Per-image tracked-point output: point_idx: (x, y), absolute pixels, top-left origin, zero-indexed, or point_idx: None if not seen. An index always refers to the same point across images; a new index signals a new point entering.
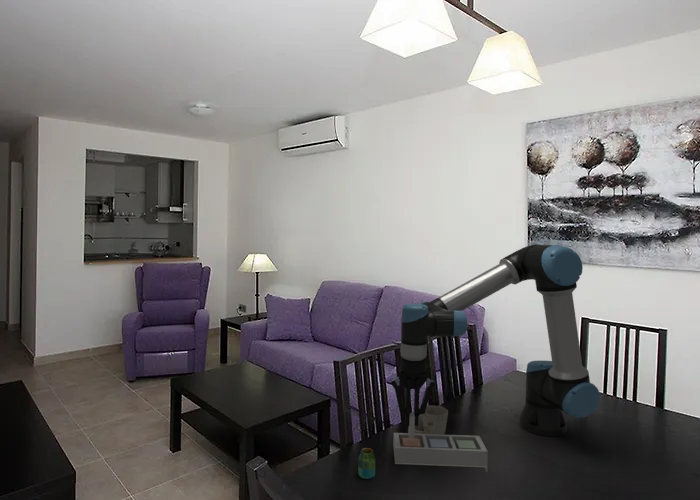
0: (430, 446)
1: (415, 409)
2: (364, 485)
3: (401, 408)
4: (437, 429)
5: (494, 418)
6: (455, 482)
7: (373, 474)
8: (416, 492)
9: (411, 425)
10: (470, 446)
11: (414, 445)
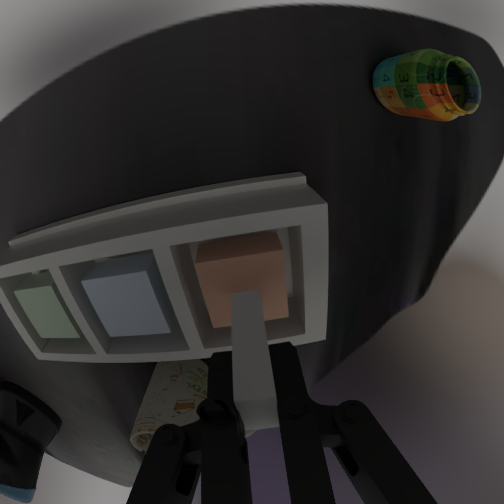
0: (156, 286)
1: (232, 454)
2: (391, 53)
3: (360, 434)
4: (161, 390)
5: (98, 432)
6: (74, 140)
7: (383, 65)
8: (205, 26)
9: (253, 344)
10: (29, 300)
11: (227, 264)
